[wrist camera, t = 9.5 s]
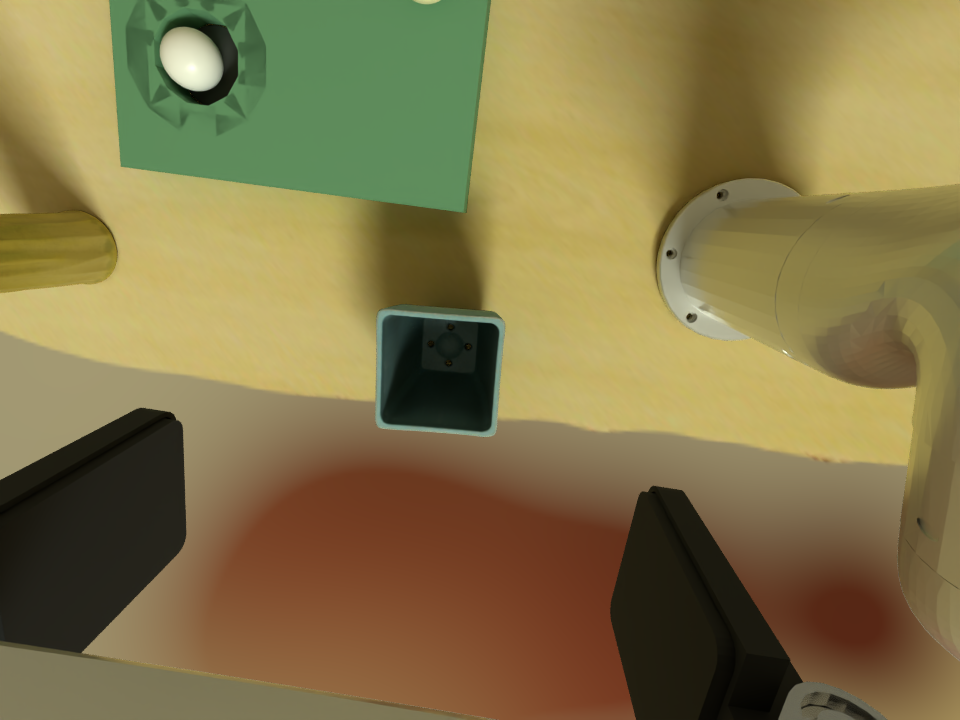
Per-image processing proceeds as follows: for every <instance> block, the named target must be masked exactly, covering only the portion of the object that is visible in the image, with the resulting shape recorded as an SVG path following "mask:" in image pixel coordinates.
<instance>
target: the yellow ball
mask: <svg viewBox="0 0 960 720" xmlns="http://www.w3.org/2000/svg"><path fill="white" fill-rule="evenodd" d="M413 1H415V2H417V3H421V4H433V3H436V2H439V1H440V0H413Z"/></svg>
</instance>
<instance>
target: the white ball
mask: <svg viewBox="0 0 960 720" xmlns="http://www.w3.org/2000/svg"><path fill="white" fill-rule="evenodd" d="M160 58H161V62H162V64H163V67H164V69H165V70H166V72H167V73H168V75H169V76H170V77H171V78H172V79H173V80H174V81H175V82H176V83H178V84H179V85H181V86H182V87H184V88H186V89H189V90H193V91H207V90H210V89H212V88H214V87H215V86H216V85H217V84H218V83H219V81H220V80H221V78H222V75H223V69H224V65H223V59H222V56H221V53H220V51H219V49H218V47H217V46H216V45H215V43H214V42H213V41H212V40H211V39H210V38H209V37H208V36H207V35H205V34H204V33H203V32H201V31H199V30H197V29H194V28H190V27H177V28H174V29H172V30H170V31H168V32H167V33H166V34H165V35H164V37H163V39H162V41H161V44H160Z"/></svg>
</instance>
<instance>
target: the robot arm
mask: <svg viewBox="0 0 960 720" xmlns="http://www.w3.org/2000/svg"><path fill="white" fill-rule="evenodd" d="M718 192H719V193H720V194H721V197H720V198H719V199H717V193H718ZM668 250H670V251H671V255H670V256H667V255H666V252H667V251H668ZM656 272H657V281H658V287H659V290H660V293H661V296H662V299H663V301H664V302H665V304H666V306H667V308H668V309H669V311H670V312H671V313H672V314H673V315H674V317H675V318H676V319H677V320H678V321H679V322H681V323H682V324H683V325H685V326H686V327H687V328H689V329H690V330H692V331H694V332H696V333H698V334H700V335H703V336H706V337H709V338H711V339H717V340H724V341H736V340H745V339H750V338H752V339H754V340H756V341H758V342H760V343H762V344H764V345H766V346H768V347H770V348H772V349H774V350H776V351H778V352H780V353H782V354H784V355H786V356H788V357H790V358H792V359H794V360H796V361H799V362H801V363H803V364H805V365H807V366H809V367H811V368H813V369H815V370H817V371H819V372H821V373H823V374H825V375H827V376H830V377H832V378H834V379H837V380H839V381H842V382H845V383H848V384H852V385H856V386H861V387H866V388H874V389H899V388H911V387H916V395H915V402H914V410H913V417H912V426H913V433H912V440H911V447H910V454H909V462H908V469H907V477H906V483H905V490H904V497H903V504H902V512H901V519H900V531H899V538H898V554H897V563H898V575H899V579H900V584H901V587H902V591H903V594H904V596H905V598H906V600H907V602H908V604H909V607H910V609H911V610H912V612H913V613H914V615H915V616H916V617H917V619H918V620H919V622H920V623H921V624H922V625H923V627H924V628H925V630H926V631H927V632H928V633H929V634H930V635H931V636H932V637H933V638H934V639H935V640H936V641H937V642H938V643H939V644H940V645H942V646H943V647H944V648H945V649H946V650H947V651H948V652H950V653H951V654H952V655H953V656H954V657H955V658H957V659H958V660H959V661H960V184H955V185H945V186H936V187H927V188H917V189H904V190H889V191H874V192H859V193H843V194H828V195H813V196H801V195H800V194H799V193H797V192H796V191H795V190H794V189H792V188H790V187H788V186H786V185H784V184H782V183H780V182H776V181H771V180H767V179H758V178H745V179H738V180H732V181H729V182H725V183H721V184H718V185H716V186H714V187H711V188H709V189H707V190H705V191H703V192H702V193H700V194H699V195H697V196H696V197H695V198H693V199H692V200H690V201H689V202H688V203H687V204H686V205H685V206H684V207H683V208H682V209H681V210H680V211H679V212H678V213H677V215H676V216H675V218H674V219H673V220H672V222H671V223H670V225H669V226H668V228H667V230H666V232H665V234H664V237H663V239H662V241H661V245H660V248H659V252H658V256H657V268H656ZM689 313H690V314H691V316H690V318H686V316H687V315H688V314H689ZM185 539H186V510H185V480H184V448H183V427H182V424H181V422H179V421H177V420H176V418H175V416H174V414H172V413H171V412H165V411H159V410H153V409H146V408H139V409H136V410H134V411H132V412H130V413H128V414H126V415H124V416H122V417H120V418H119V419H117V420H115V421H113V422H111V423H109V424H107V425H105V426H103V427H101V428H99V429H97V430H95V431H94V432H92V433H90V434H88V435H86V436H84V437H82V438H80V439H78V440H76V441H74V442H73V443H70V444H69V445H67V446H65V447H63V448H61V449H59V450H57V451H55V452H53V453H52V454H49V455H48V456H46V457H44V458H42V459H40V460H38V461H36V462H34V463H32V464H30V465H29V466H26V467H24V468H23V469H21V470H19V471H17V472H15V473H13V474H11V475H9V476H7V477H5V478H3V479H1V480H0V720H495V719H489V718H483V717H477V716H471V715H465V714H459V713H453V712H447V711H441V710H435V709H429V708H423V707H417V706H410V705H405V704H399V703H393V702H387V701H381V700H375V699H369V698H362V697H356V696H350V695H344V694H337V693H331V692H325V691H319V690H313V689H306V688H300V687H294V686H288V685H282V684H275V683H269V682H263V681H256V680H250V679H244V678H237V677H231V676H225V675H218V674H212V673H205V672H200V671H193V670H187V669H181V668H174V667H168V666H161V665H155V664H148V663H141V662H135V661H128V660H122V659H116V658H109V657H102V656H96V655H89V654H83V653H82V651H83V650H84V649H85V648H86V647H87V646H88V645H89V644H90V643H91V642H92V641H93V640H94V639H95V638H96V637H97V636H98V635H99V634H100V633H101V632H102V631H103V630H104V629H105V628H106V627H107V626H108V625H109V624H110V623H111V622H112V621H113V620H114V619H115V618H116V617H117V616H118V615H119V614H120V613H121V611H122V610H123V609H124V608H125V607H126V606H127V605H128V604H129V603H130V602H131V601H132V600H133V599H134V598H135V597H136V596H137V595H138V594H139V593H140V592H141V591H142V590H143V589H144V588H145V587H146V586H147V585H148V584H149V583H150V582H151V581H152V580H153V579H154V578H155V577H156V576H157V575H158V574H159V573H160V572H161V571H162V570H163V568H165V566H166V565H167V564H168V563H169V562H170V561H171V560H172V559H173V558H174V557H175V556H176V555H177V554H178V553H179V551H180V550H181V549H182V547H183V545H184V542H185ZM610 614H611V622H612V626H613V630H614V633H615V638H616V641H617V646H618V650H619V654H620V657H621V661H622V665H623V669H624V673H625V677H626V681H627V685H628V689H629V693H630V697H631V701H632V705H633V709H634V713H635V717H636V720H887V719H886V718H885V717H884V716H883V715H881V713H879V712H878V711H876V710H875V709H874V708H872V707H871V706H869V705H868V704H866V703H865V702H864V701H862V700H861V699H859V698H857V697H855V696H853V695H851V694H849V693H847V692H845V691H843V690H841V689H839V688H836V687H833V686H830V685H827V684H824V683H817V682H804V683H803V681H802V680H801V678H800V676H799V675H798V673H797V672H796V670H795V669H794V667H793V665H792V664H791V662H790V658H789V657H788V655H787V654H786V652H785V651H784V649H783V647H782V646H781V644H780V643H779V641H778V640H777V638H776V636H775V635H774V633H773V632H772V630H771V628H770V627H769V625H768V624H767V622H766V621H765V619H764V618H763V616H762V614H761V613H760V611H759V610H758V608H757V606H756V605H755V603H754V602H753V600H752V599H751V597H750V595H749V594H748V592H747V591H746V589H745V587H744V586H743V584H742V583H741V581H740V580H739V578H738V577H737V575H736V573H735V572H734V570H733V568H732V567H731V565H730V564H729V562H728V561H727V559H726V558H725V556H724V554H723V553H722V551H721V550H720V548H719V546H718V545H717V543H716V542H715V540H714V539H713V537H712V535H711V534H710V532H709V531H708V529H707V527H706V526H705V524H704V523H703V521H702V520H701V518H700V516H699V515H698V513H697V512H696V510H695V509H694V507H693V505H692V504H691V502H690V501H689V499H688V497H687V496H686V495H685V493H684V492H683V491H682V490H677V489H671V488H664V487H657V486H652V487H651V488H650V489H649V491H648V492H641V493H640V495H639V497H638V501H637V504H636V508H635V512H634V516H633V520H632V524H631V527H630V531H629V535H628V539H627V543H626V546H625V551H624V554H623V558H622V562H621V566H620V569H619V574H618V577H617V581H616V585H615V589H614V592H613V596H612V600H611V608H610Z"/></svg>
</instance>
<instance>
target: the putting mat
mask: <svg viewBox="0 0 960 720" xmlns="http://www.w3.org/2000/svg"><path fill="white" fill-rule="evenodd" d="M109 3H110V17H111V31H112V46H113V60H114V74H115V89H116V103H117V117H118V132H119V146H120V160H121V167H128V168H135V169H143V170H150V171H158V172H165V173H172V174H180V175H187V176H195V177H202V178H210V179H217V180H225V181H232V182H239V183H247V184H254V185H262V186H269V187H277V188H284V189H292V190H299V191H306V192H314V193H321V194H329V195H336V196H344V197H351V198H359V199H366V200H373V201H381V202H388V203H396V204H403V205H411V206H418V207H426V208H433V209H440V210H448V211H455V212H463V213H466V210H467V202H468V193H469V185H470V176H471V167H472V159H473V150H474V142H475V133H476V124H477V116H478V107H479V98H480V90H481V81H482V73H483V64H484V55H485V47H486V38H487V30H488V21H489V12H490V4H491V0H440V1H439V2H436V3H433V4H421V3H417V2H415V1H413V0H109ZM206 24H216V25H209V26H204V25H206ZM218 25H223V26H226V27H227V28H225V27H222V26H218ZM203 26H204V27H203ZM177 27H190V28H194V29H197V30H199V31H201V32H203V33H204V34H205V35H207V36H208V37H209V38H210V39H211V40H212V41H213V42H214V43H215V45H216V46H217V47H218V49H219V51H220V53H221V56H222V59H223V65H224V69H223V75H222V78H221V80H220V81H219V83H218V84H217V85H216V86H215V87H214V88H212V89H210V90H207V91H193V90H189V89H186V88H184V87H182V86H181V85H179V84H178V83H176V82H175V81H174V80H173V79H172V78H171V77H170V76H169V75H168V73H167V72H166V70H165V69H164V67H163V64H162V62H161V58H160V44H161V41H162V39H163V37H164V35H165V34H166V33H167V32H168V31H170V30H172V29H174V28H177ZM188 90H189V91H190V92H189V91H188ZM190 93H191V94H192V95H193V96H194V97H195V99H197V100H198V101H199V102H200V103H201V104H203V105H201V104H200V103H199V102H197V101H196V100H195V99H193V98H192V96H191V94H190Z"/></svg>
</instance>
